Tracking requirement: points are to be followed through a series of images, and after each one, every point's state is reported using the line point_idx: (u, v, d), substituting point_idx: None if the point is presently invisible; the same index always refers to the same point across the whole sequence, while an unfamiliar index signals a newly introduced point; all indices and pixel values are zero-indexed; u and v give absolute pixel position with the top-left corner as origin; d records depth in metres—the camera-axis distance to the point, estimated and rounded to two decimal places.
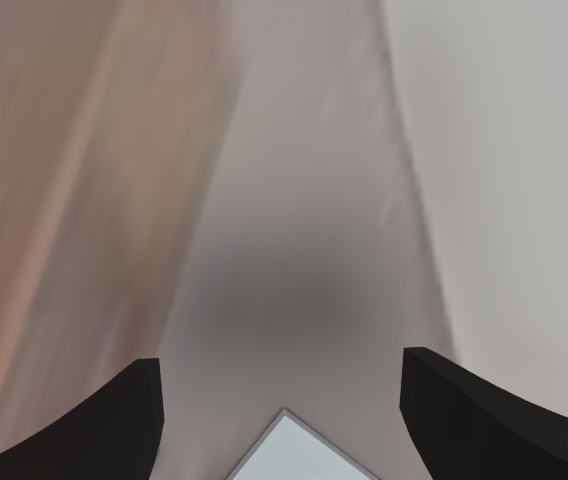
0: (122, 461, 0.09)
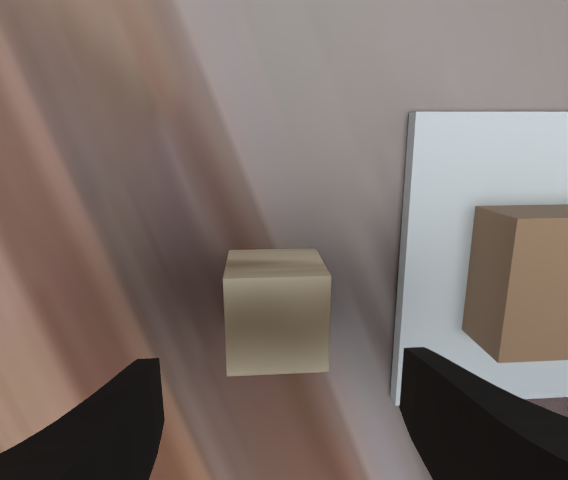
0: (122, 461, 0.09)
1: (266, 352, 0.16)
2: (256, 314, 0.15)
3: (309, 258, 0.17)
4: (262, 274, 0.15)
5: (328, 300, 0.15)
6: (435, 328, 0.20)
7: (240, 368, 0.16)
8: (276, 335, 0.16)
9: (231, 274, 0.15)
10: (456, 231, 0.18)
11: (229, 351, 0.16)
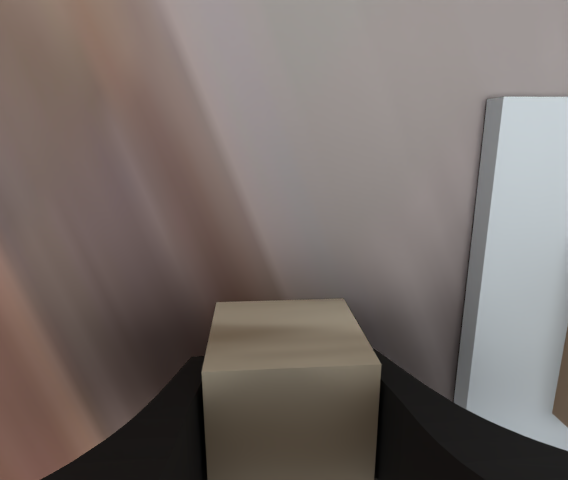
0: (193, 457, 0.09)
1: None
2: (257, 426, 0.09)
3: (339, 321, 0.11)
4: (266, 360, 0.09)
5: (374, 403, 0.09)
6: (515, 412, 0.14)
7: None
8: (289, 457, 0.10)
9: (217, 359, 0.09)
10: (553, 275, 0.12)
11: None
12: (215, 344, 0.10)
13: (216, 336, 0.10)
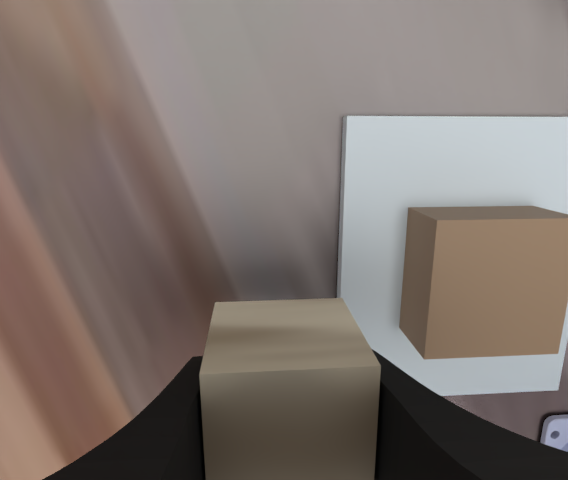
0: (195, 457, 0.09)
1: None
2: (256, 428, 0.09)
3: (338, 322, 0.11)
4: (265, 362, 0.09)
5: (374, 404, 0.09)
6: (373, 326, 0.20)
7: None
8: (289, 459, 0.10)
9: (215, 361, 0.09)
10: (390, 232, 0.19)
11: None
12: (213, 346, 0.10)
13: (214, 338, 0.10)
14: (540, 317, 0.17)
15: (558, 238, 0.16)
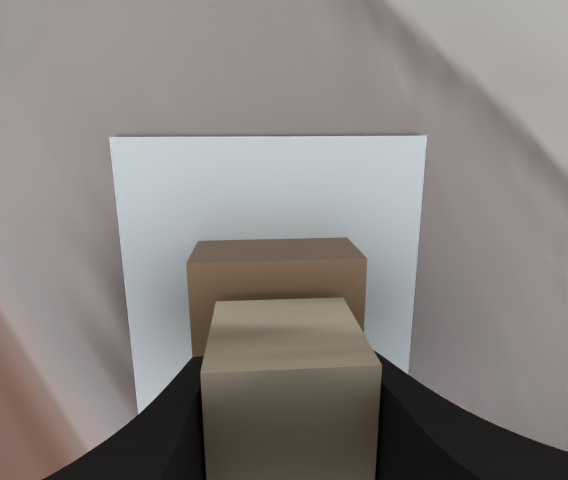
0: (195, 457, 0.09)
1: None
2: (257, 427, 0.09)
3: (339, 322, 0.11)
4: (266, 361, 0.09)
5: (375, 404, 0.09)
6: (174, 374, 0.18)
7: None
8: (289, 458, 0.10)
9: (216, 360, 0.09)
10: (180, 268, 0.16)
11: None
12: (214, 345, 0.10)
13: (215, 337, 0.10)
14: None
15: (340, 282, 0.14)
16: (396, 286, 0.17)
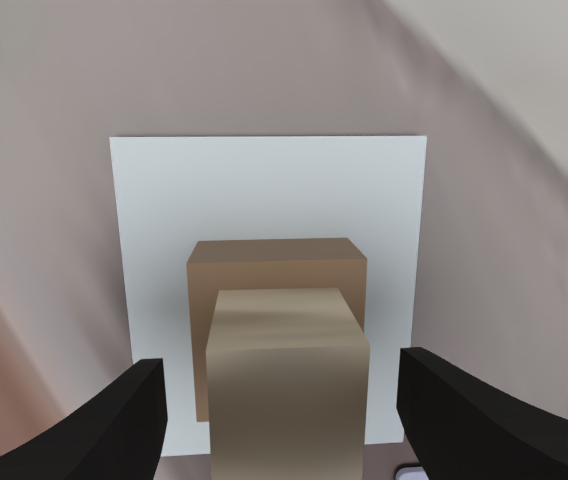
0: (127, 461, 0.09)
1: (271, 454, 0.11)
2: (256, 401, 0.10)
3: (333, 308, 0.12)
4: (265, 341, 0.10)
5: (364, 381, 0.10)
6: (174, 374, 0.18)
7: (231, 477, 0.11)
8: (286, 430, 0.10)
9: (219, 339, 0.10)
10: (180, 269, 0.16)
11: (215, 454, 0.10)
12: (218, 327, 0.11)
13: (219, 320, 0.11)
14: None
15: (340, 282, 0.14)
16: (396, 286, 0.17)
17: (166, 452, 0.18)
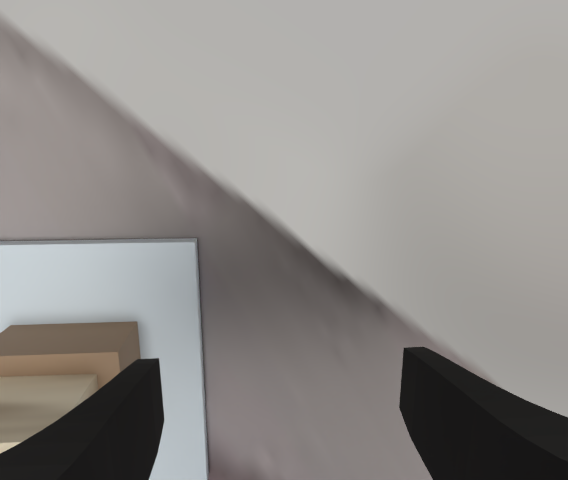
0: (122, 461, 0.09)
1: None
2: None
3: (66, 399, 0.16)
4: None
5: None
6: None
7: None
8: None
9: None
10: None
11: None
12: None
13: None
14: None
15: (98, 370, 0.17)
16: (184, 359, 0.21)
17: None
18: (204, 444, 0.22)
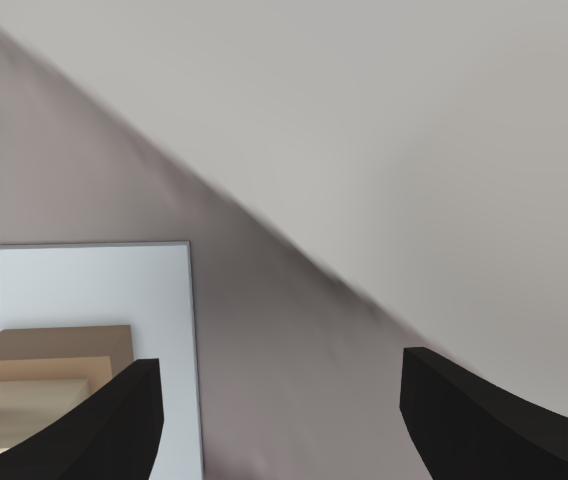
0: (122, 461, 0.09)
1: None
2: None
3: (57, 404, 0.16)
4: None
5: None
6: None
7: None
8: None
9: None
10: None
11: None
12: None
13: None
14: None
15: (90, 374, 0.17)
16: (178, 362, 0.21)
17: None
18: (199, 447, 0.22)
